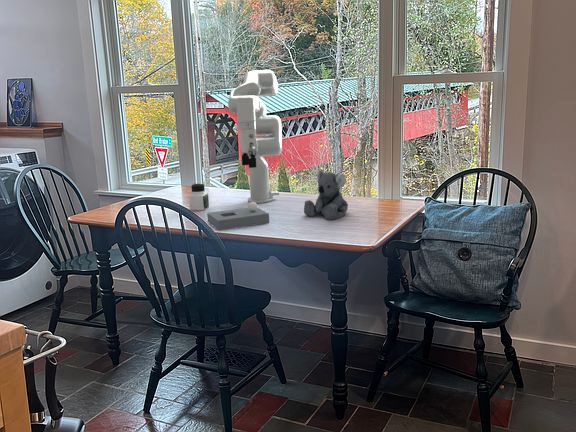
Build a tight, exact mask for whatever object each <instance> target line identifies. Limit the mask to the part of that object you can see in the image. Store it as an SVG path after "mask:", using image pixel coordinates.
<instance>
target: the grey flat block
mask: <svg viewBox="0 0 576 432" xmlns="http://www.w3.org/2000/svg"><path fill="white" fill-rule="evenodd" d="M206 217H207V223H208V222H209V223H208V224H209V225H211V226H212V225H213V227H214V228H215V229H217V230H218V231H222V230H223V229H224V230H230V229H235V227H237V228H243V227H242V226H244V227H248V226H249V227H251V226H256V225H264V224H269V223H270V214H269V212H266V211H265V210H263V209H261V208H260V207H257V209H256V210H255V211H250V210H249V208H248V207H242V208H234V209H227V210H226V209H225V210H218V211H213V212H212V211H211V212H207V213H206ZM229 228H230V229H229Z"/></svg>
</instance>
